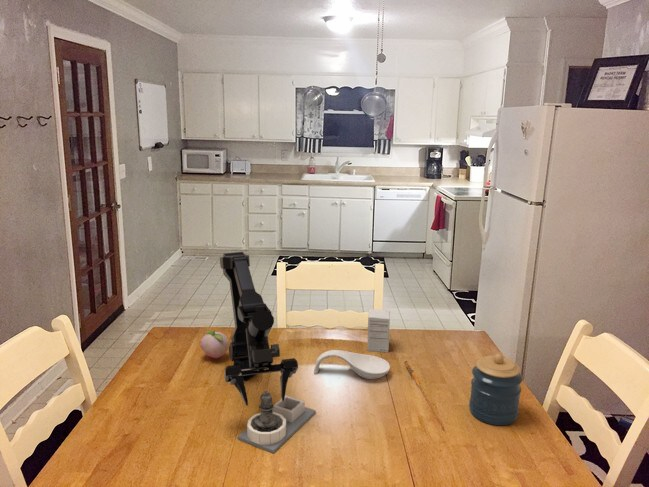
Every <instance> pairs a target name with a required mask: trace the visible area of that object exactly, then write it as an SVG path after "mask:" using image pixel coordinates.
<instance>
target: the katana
mask: <svg viewBox="0 0 649 487" xmlns="http://www.w3.org/2000/svg"><path fill="white" fill-rule="evenodd" d="M404 365H405V367H406V369H407V370H408V372H409V374H410V376H411V380H412V381H413V383H414V385H415V387H416V388H417V389H418V391H419V392H420V394H421V395H422V398H424V401H425V402H426V405H427V406H428V407H429V410H430V411H431V413H432V414H433V416H434V418H435V420H436V422H437V423H438V424H439V428H441V429H444V425H443V423H442V422H441V420H440V419H439V416H438V415H437V414H436V412H435V410H434V408H433V407H432V405H431V403H430V402H429V399H428V398H427V395H426V394H425V392H424V391H423V389H422V387H421V384H420V382H419V376H418V375H417V374H416V372H415V371H414V370H413V369H412V367H411V366H410V363H409V362H408V361H407V360H405V361H404Z"/></svg>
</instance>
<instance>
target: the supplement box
mask: <svg viewBox="0 0 649 487" xmlns="http://www.w3.org/2000/svg"><path fill="white" fill-rule="evenodd" d="M390 313H391V312H390V310H387V309H386V310H385V309H369V310H368V317H367V348H366V349H367V352H377V353H378V352H379V353H389V350H390V349H389V346H390V344H389V343H390V325H391V324H390V320H391V319H390V315H391V314H390Z"/></svg>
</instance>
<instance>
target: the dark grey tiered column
mask: <svg viewBox="0 0 649 487" xmlns="http://www.w3.org/2000/svg"><path fill="white" fill-rule="evenodd" d="M273 405H274V404H273V396H272V394H271V393H270V392H268V390H265V391H264V392H263V393H261V395H260V405H259V406H258V408H259V410H260V412H259V413H260V415H259V416H258V417H257V418H256V419H255V423H256V425H257V427H258V430H257V431H260V432H271V431H274V430H277V429H276V428H275V427H276V425H277V423H278V417H277V416H276V415H274V414H273V411H272V409H273V408H274V406H273Z"/></svg>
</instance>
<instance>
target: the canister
mask: <svg viewBox="0 0 649 487" xmlns="http://www.w3.org/2000/svg"><path fill="white" fill-rule="evenodd" d="M471 372H472V375H473V377H472V378H471V381H470V384H471V387H470V388H471V390H470V398H469V401H468V402H469V403H468V407H469V410H470V411H469V412H470V414H471V415H472V416H473V417H474V418H476V419H477V420H478V421H480V422H483V423H485V424H487V425H488V424H489V425H492V426H493V425H494V426H507V425H511V424H513V423H515V422H516V421H517V418H518V416H519V414H520V413H519V412H520V408H519V405H520V398H521V392H522V387H521V385H520V384H522V382H523V380H524V379H523V375H522V374H521V368H520V366H519V365H518V364H517V363H516V362H514V360H512V359H510V358H508V357H506V356H503V354H501V353H495V354H494V355H493V354H492V355H491V354H490V355H486V356H483V357H481V358H478V359H477V360H476V362H475V365H474V367H472V370H471Z"/></svg>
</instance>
